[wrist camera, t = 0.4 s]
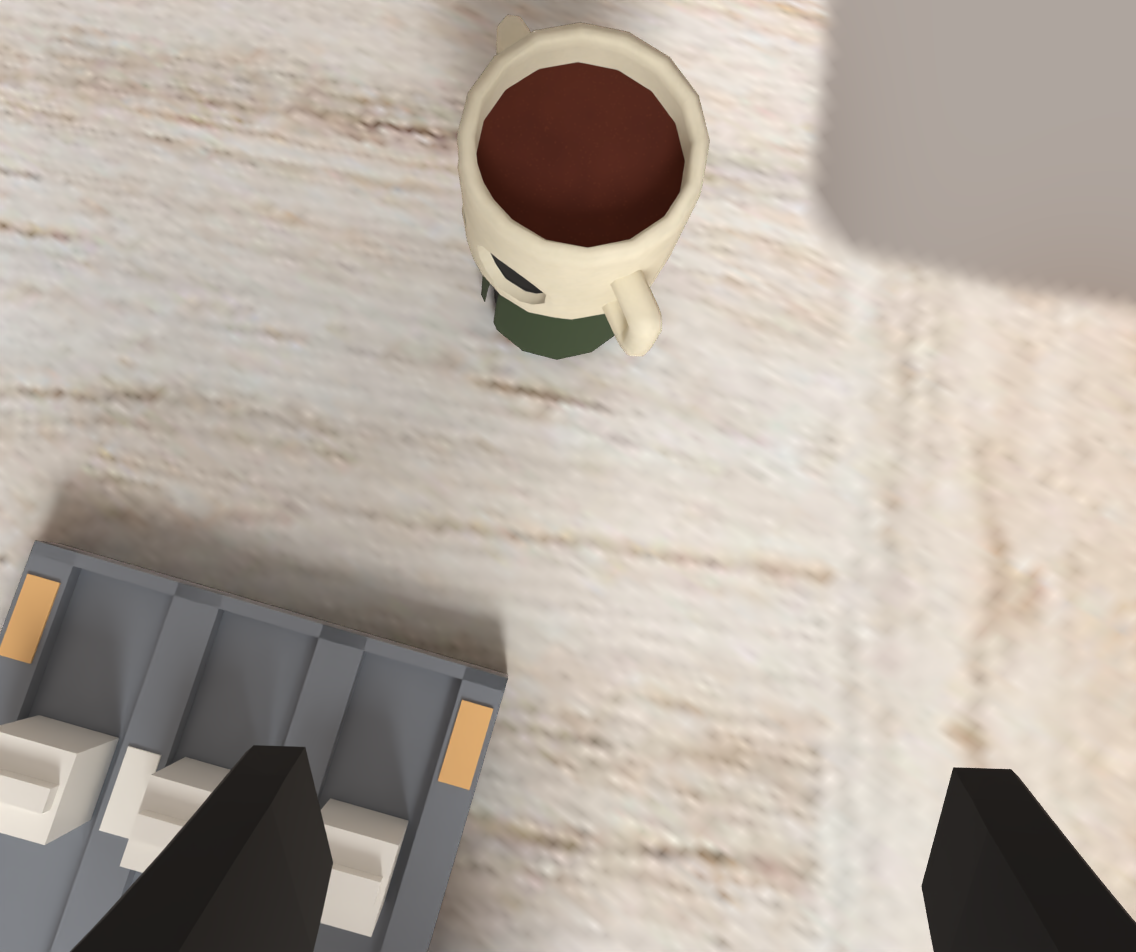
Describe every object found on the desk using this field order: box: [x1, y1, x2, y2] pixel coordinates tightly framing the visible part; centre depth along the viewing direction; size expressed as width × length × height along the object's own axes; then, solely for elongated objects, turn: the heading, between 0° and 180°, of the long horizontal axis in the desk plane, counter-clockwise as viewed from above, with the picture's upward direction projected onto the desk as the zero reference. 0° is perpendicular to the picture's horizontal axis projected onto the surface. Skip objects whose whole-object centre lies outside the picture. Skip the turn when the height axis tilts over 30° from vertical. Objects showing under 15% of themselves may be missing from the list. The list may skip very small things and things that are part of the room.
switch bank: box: [0, 541, 508, 952], centre depth 35 cm, size 17×18×2 cm
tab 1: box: [0, 715, 119, 845], centre depth 33 cm, size 3×3×4 cm
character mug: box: [457, 15, 710, 360], centre depth 33 cm, size 11×7×13 cm, turn 23°
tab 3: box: [320, 798, 409, 937], centre depth 33 cm, size 3×3×4 cm
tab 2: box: [120, 757, 230, 873], centre depth 33 cm, size 3×3×4 cm
